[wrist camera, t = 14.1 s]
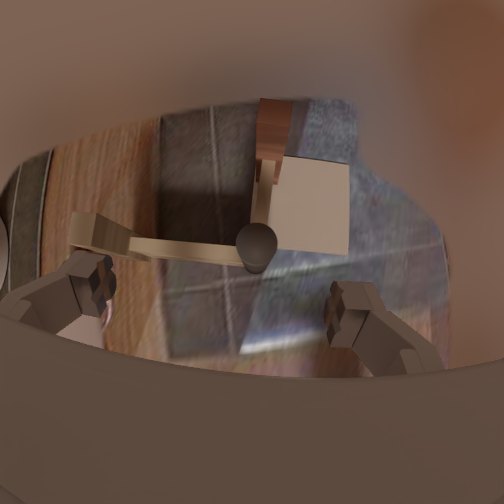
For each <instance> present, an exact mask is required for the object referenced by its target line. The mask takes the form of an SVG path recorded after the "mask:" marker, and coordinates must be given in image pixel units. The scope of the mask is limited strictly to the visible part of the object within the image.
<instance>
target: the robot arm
mask: <svg viewBox="0 0 504 504" xmlns="http://www.w3.org/2000/svg"><path fill="white" fill-rule="evenodd" d="M7 263H8V238H7V232H6V229H5V226H4V223H3V221H2V219H1V217H0V290H1V287H2V285H3V282H4V279H5V275H6V270H7ZM112 267H113V261H112V257H111V256H109V255H106V254H100V253H93V252H87V251H80V250H78V251H75V252H74V253H73V254H72V255H71V256H70V257H69V258H68V259H67V261H66V262H65V263H64V264H63V265H62V266H61V267H60V268H59V269H58V270H57V271H56V272H51V273H49V274H47V275H45V276H43V277H41V278H38V279H36V280H34V281H32V282H30V283H28V284H26V285H23V286H21V287H19V288H17V289H15V290H13V291H11V292H9V293H7V294H6V296H5V297H4V298H3V299H2V300H1V301H0V504H504V358H503V359H499V360H495V361H490V362H486V363H481V364H476V365H471V366H465V367H459V368H454V369H447V370H446V369H445V367H444V365H443V362H442V360H441V358H440V356H439V354H438V351H437V349H436V347H435V346H434V345H433V344H431V343H430V342H429V341H428V340H426V339H425V338H424V337H422V336H421V335H420V334H419V333H417V332H416V331H415V330H414V329H412V328H411V327H410V326H408V325H407V324H406V323H405V322H403V321H402V320H401V319H399V318H398V317H397V316H396V315H394V314H393V313H392V312H390V311H386V308H385V306H384V304H383V302H382V300H381V298H380V295H379V293H378V291H377V289H376V287H375V285H374V284H373V283H371V282H349V281H335V280H334V281H333V283H332V285H331V288H330V292H331V296H330V297H329V298H328V299H327V300H326V303H325V307H324V322H325V325H326V326H328V327H329V329H328V331H327V337H328V341H329V346H330V347H341V348H352V350H353V351H354V353H355V354H356V355H357V356H358V357H359V359H360V360H361V361H362V362H363V363H364V364H365V366H366V367H367V368H368V369H369V370H370V372H371V373H372V374H373V375H374V376H375V377H354V378H303V377H280V376H265V375H253V374H242V373H232V372H223V371H215V370H208V369H200V368H194V367H187V366H181V365H175V364H169V363H164V362H159V361H153V360H148V359H144V358H139V357H134V356H130V355H126V354H121V353H117V352H113V351H109V350H105V349H101V348H98V347H94V346H90V345H87V344H83V343H80V342H77V341H73V340H70V339H66V338H64V337H60V336H58V335H55V334H57V333H58V332H59V331H61V330H62V329H63V328H65V327H66V326H68V325H69V324H70V323H72V322H73V321H74V320H76V319H77V318H79V317H80V316H81V315H82V314H84V315H88V316H93V317H98V318H100V317H101V315H102V314H103V312H104V310H105V309H106V307H107V304H106V301H108V300H110V299H112V297H113V295H114V294H115V290H116V276H115V274H114V273H113V271H112V270H111V268H112Z"/></svg>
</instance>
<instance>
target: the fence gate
mask: <svg viewBox="0 0 504 504" xmlns="http://www.w3.org/2000/svg"><path fill="white" fill-rule="evenodd" d="M291 110H292V102H287V101H280V100H273V99H264V98H260V104H259V110H258V115H257V121H256V182H259V187H258V194H257V201H256V208H255V215H254V222H253V223H263V224H265V225H268V217H269V210H270V202H271V194H272V187H273V184H274V185H278V180H279V175H280V171H281V166H282V161H283V157H284V152H285V147H286V143H287V138H288V133H289V129H290V120H291Z"/></svg>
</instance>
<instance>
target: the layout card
mask: <svg viewBox="0 0 504 504" xmlns="http://www.w3.org/2000/svg"><path fill="white" fill-rule="evenodd" d="M258 187H259V182H256V167H255V177H254V187H253V197H252V207H251V217H250V223H253V222H254V215H255V208H256V201H257V194H258ZM267 226H269V227H270V228H271V229H272V230H273V231H274V232H275V234H276V236H277V240H278V246H277V249H286V250H297V251H307V252H318V253H328V254H339V255H348V245H349V165H345V164H339V163H333V162H326V161H319V160H311V159H304V158H295V157H286V156H284V157H283V161H282V166H281V171H280V175H279V180H278V185H274V184H273V187H272V194H271V202H270V210H269V217H268V225H267Z"/></svg>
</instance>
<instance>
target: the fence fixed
mask: <svg viewBox="0 0 504 504" xmlns="http://www.w3.org/2000/svg"><path fill="white" fill-rule="evenodd" d="M67 243H68V244H71V245H75V246H79V247H83V248H86V249H90V250H94V251H98V252H101V253H105V254H109V255H113V256H117V257H121V258H125V259H129V260H134V261H143V262H151V257H156V258H165V259H175V260H184V261H194V262H204V263H214V264H224V265H235V266H244V267H245V269H246V270H247V271H248V272H250V273H252V274H260V273H262V272H263V271H264V270H265V269H266V268H267V266H268V264H269V263H270V261H271V259H272V258H273V256H274V254H275V253H276V250H277V246H278V240H277V236H276V234H275V232H274V231H273V230H272V229H271V228H270V227H269V226H267V225H265V224H263V223H250V224H248V225H246V226H244V227H243V228H242V229H241V230H240V231H239V233H238V235H237V238H236V246H226V245H215V244H204V243H193V242H182V241H171V240H159V239H148V238H146V237H144V236H142V235H140V234H138V233H136V232H134V231H132V230H130V229H128V228H125V227H123V226H121V225H119V224H117V223H115V222H113V221H111V220H109V219H107V218H105V217H104V216H102V215H100V214H98V213H87V212H72V216H71V222H70V227H69V233H68V239H67Z"/></svg>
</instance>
